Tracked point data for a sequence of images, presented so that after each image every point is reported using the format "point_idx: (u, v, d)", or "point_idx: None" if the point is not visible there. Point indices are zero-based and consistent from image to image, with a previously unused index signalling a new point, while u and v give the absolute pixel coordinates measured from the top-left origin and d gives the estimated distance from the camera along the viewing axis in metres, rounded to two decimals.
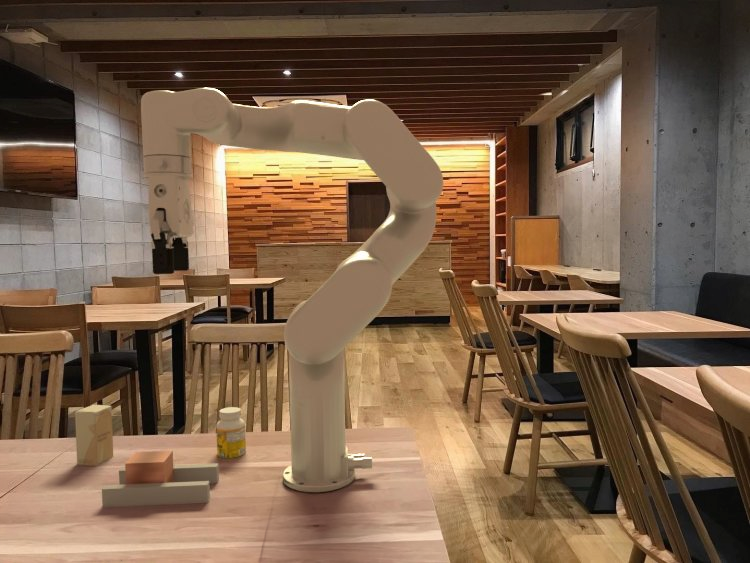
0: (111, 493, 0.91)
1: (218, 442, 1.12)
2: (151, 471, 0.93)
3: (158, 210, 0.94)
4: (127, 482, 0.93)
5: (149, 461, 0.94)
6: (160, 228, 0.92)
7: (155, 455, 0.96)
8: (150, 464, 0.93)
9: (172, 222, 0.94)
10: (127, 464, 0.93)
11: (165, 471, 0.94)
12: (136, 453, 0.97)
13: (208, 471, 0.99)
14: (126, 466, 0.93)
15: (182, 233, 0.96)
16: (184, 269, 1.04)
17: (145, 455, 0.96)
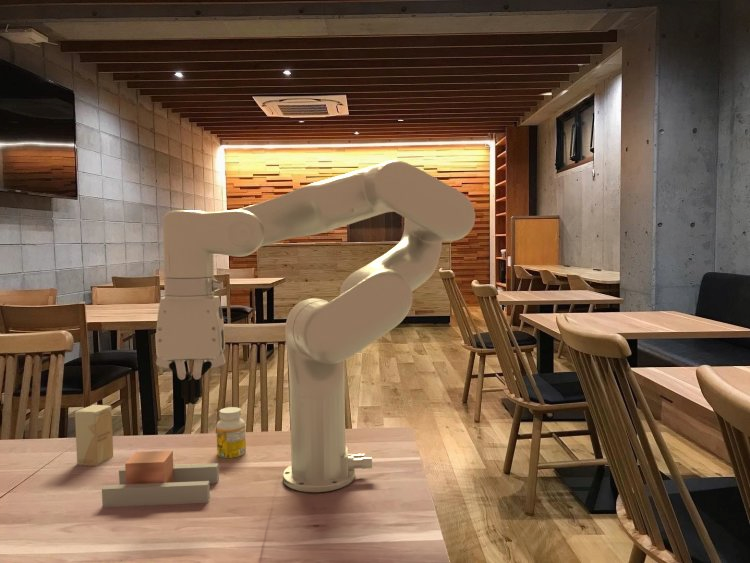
0: (111, 493, 0.91)
1: (218, 442, 1.12)
2: (151, 471, 0.93)
3: None
4: (127, 482, 0.93)
5: (149, 461, 0.94)
6: None
7: (155, 455, 0.96)
8: (150, 464, 0.93)
9: (224, 342, 0.97)
10: (127, 464, 0.93)
11: (165, 471, 0.94)
12: (136, 453, 0.97)
13: (208, 471, 0.99)
14: (126, 466, 0.93)
15: None
16: None
17: (145, 455, 0.96)
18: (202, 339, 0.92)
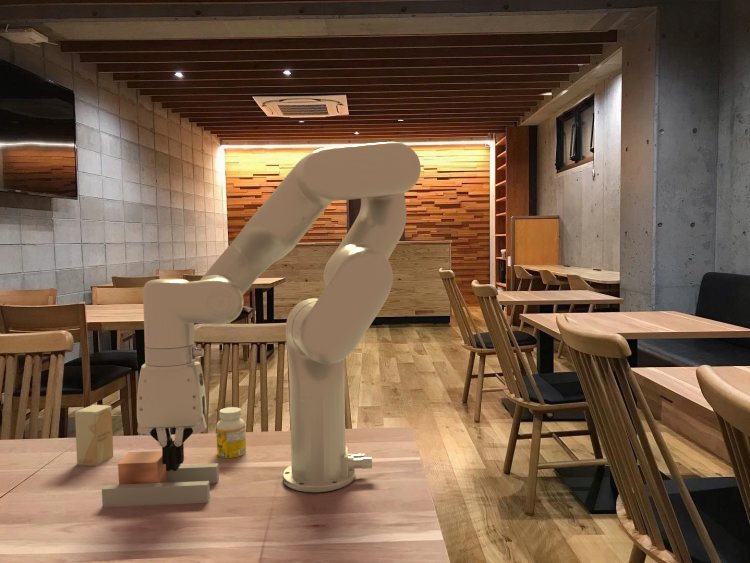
0: (111, 493, 0.91)
1: (218, 442, 1.12)
2: (144, 471, 0.93)
3: None
4: (120, 482, 0.93)
5: (142, 461, 0.94)
6: None
7: (148, 455, 0.96)
8: (143, 464, 0.93)
9: None
10: (120, 464, 0.93)
11: (158, 472, 0.94)
12: (129, 453, 0.97)
13: (208, 471, 0.99)
14: (119, 466, 0.93)
15: None
16: None
17: (138, 455, 0.96)
18: (183, 407, 0.93)
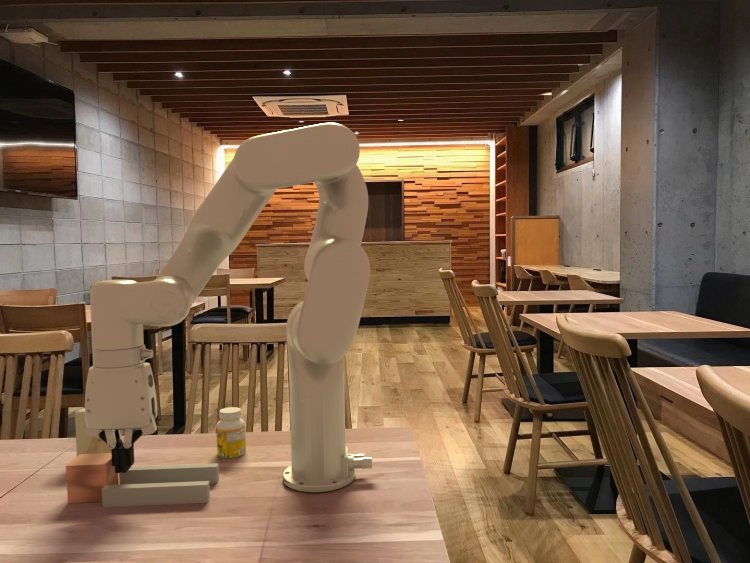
0: (111, 493, 0.91)
1: (218, 442, 1.12)
2: (92, 473, 0.93)
3: None
4: (68, 484, 0.93)
5: (91, 463, 0.93)
6: None
7: (98, 457, 0.96)
8: (91, 466, 0.93)
9: (156, 408, 0.97)
10: (68, 466, 0.92)
11: (107, 474, 0.93)
12: (80, 455, 0.97)
13: (208, 471, 0.99)
14: (67, 468, 0.92)
15: None
16: None
17: (88, 457, 0.96)
18: (131, 409, 0.92)
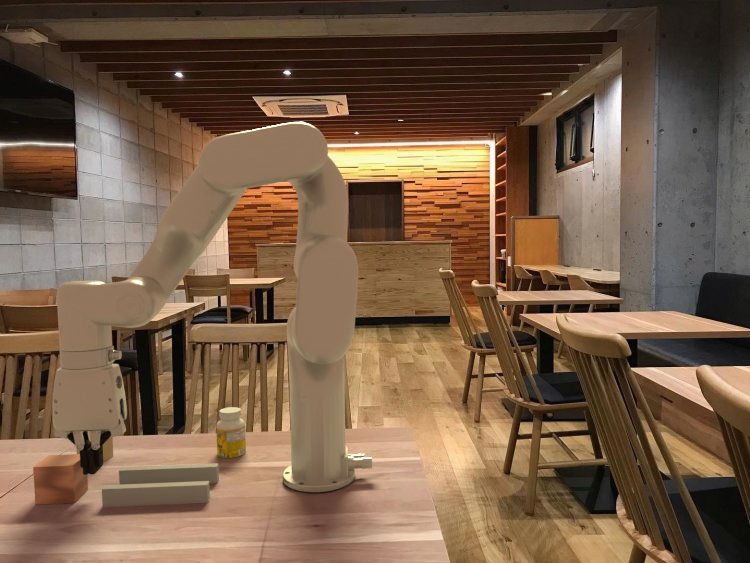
0: (111, 493, 0.91)
1: (218, 442, 1.12)
2: (60, 474, 0.92)
3: None
4: (35, 486, 0.92)
5: (58, 464, 0.93)
6: None
7: (67, 458, 0.95)
8: (59, 467, 0.92)
9: (125, 409, 0.96)
10: (35, 468, 0.92)
11: (75, 475, 0.93)
12: (48, 456, 0.96)
13: (208, 471, 0.99)
14: (34, 470, 0.92)
15: None
16: None
17: (57, 458, 0.95)
18: (98, 410, 0.92)
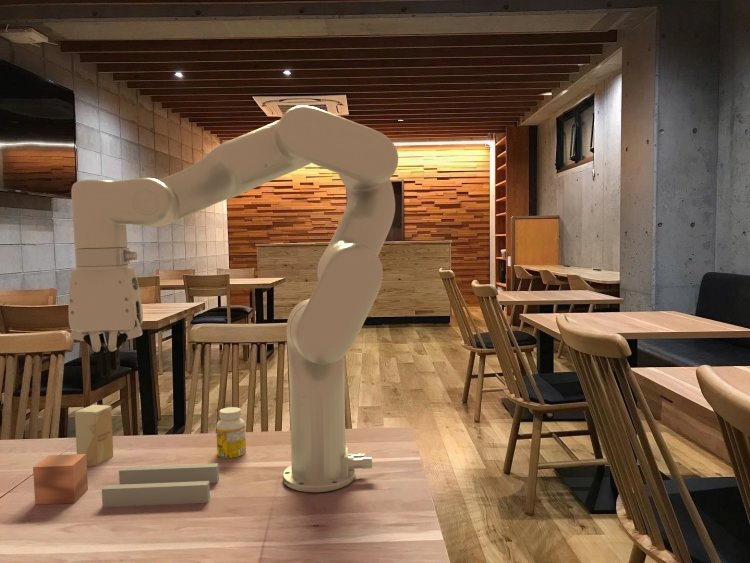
0: (111, 493, 0.91)
1: (218, 442, 1.12)
2: (59, 474, 0.92)
3: None
4: (35, 486, 0.92)
5: (58, 464, 0.93)
6: None
7: (66, 458, 0.95)
8: (59, 467, 0.92)
9: (141, 313, 0.96)
10: (35, 468, 0.92)
11: (75, 475, 0.93)
12: (48, 456, 0.96)
13: (208, 471, 0.99)
14: (34, 470, 0.92)
15: None
16: None
17: (56, 458, 0.95)
18: (115, 310, 0.91)
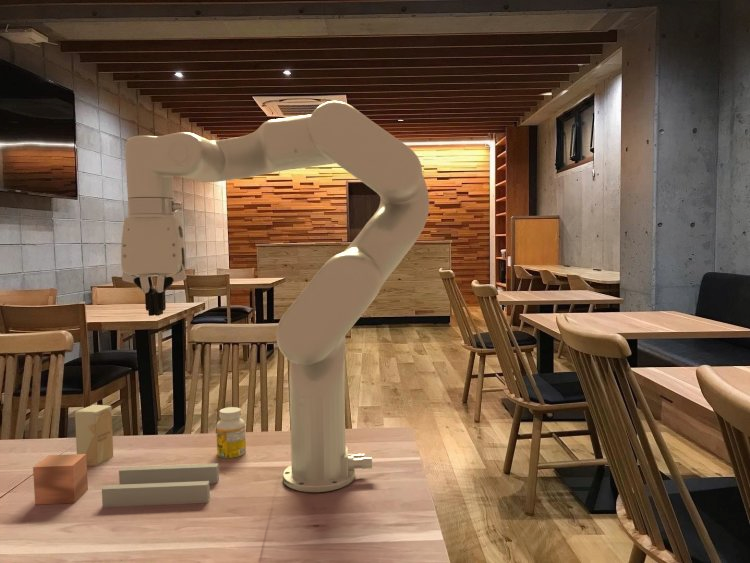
0: (111, 493, 0.91)
1: (218, 442, 1.12)
2: (59, 474, 0.92)
3: None
4: (35, 486, 0.92)
5: (58, 464, 0.93)
6: None
7: (66, 458, 0.95)
8: (59, 467, 0.92)
9: (185, 260, 1.05)
10: (35, 468, 0.92)
11: (75, 475, 0.93)
12: (48, 456, 0.96)
13: (208, 471, 0.99)
14: (34, 470, 0.92)
15: None
16: None
17: (56, 458, 0.95)
18: (163, 254, 1.01)
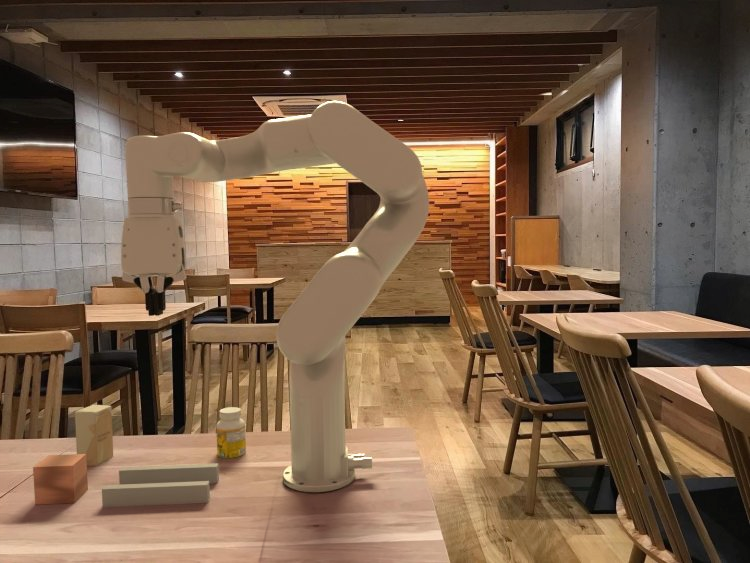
0: (111, 493, 0.91)
1: (218, 442, 1.12)
2: (59, 474, 0.92)
3: None
4: (35, 486, 0.92)
5: (58, 464, 0.93)
6: None
7: (66, 458, 0.95)
8: (59, 467, 0.92)
9: (185, 260, 1.05)
10: (35, 468, 0.92)
11: (75, 475, 0.93)
12: (48, 456, 0.96)
13: (208, 471, 0.99)
14: (34, 470, 0.92)
15: None
16: None
17: (56, 458, 0.95)
18: (163, 254, 1.01)
